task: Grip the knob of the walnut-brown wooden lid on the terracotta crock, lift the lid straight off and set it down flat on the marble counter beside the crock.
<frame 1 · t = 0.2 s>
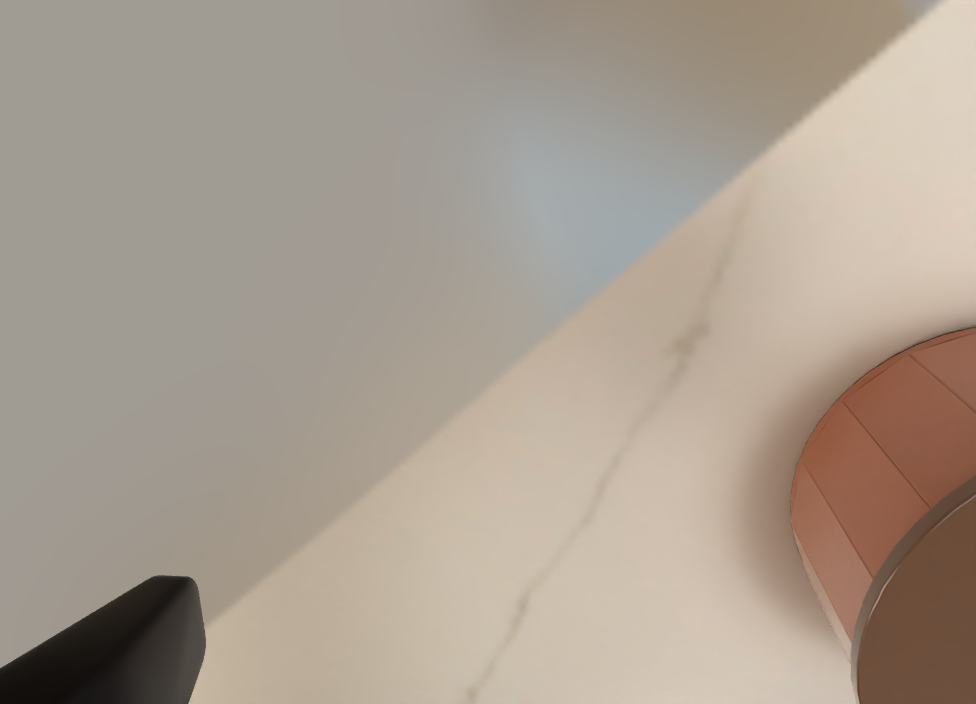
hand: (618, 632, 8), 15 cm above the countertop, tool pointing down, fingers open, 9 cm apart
crock: (974, 492, 24), on the countertop
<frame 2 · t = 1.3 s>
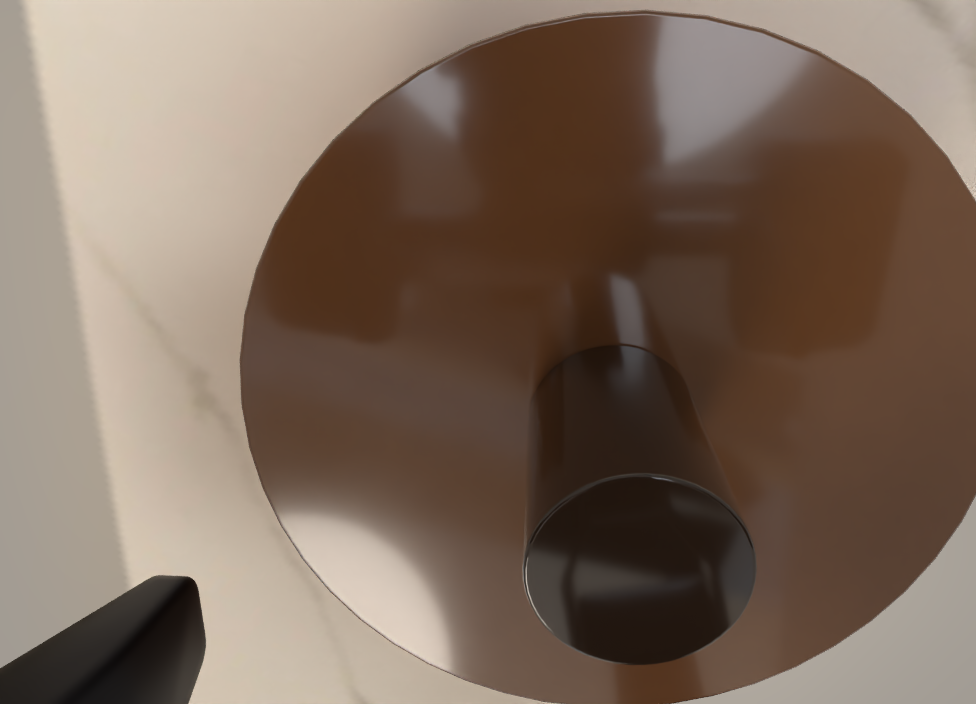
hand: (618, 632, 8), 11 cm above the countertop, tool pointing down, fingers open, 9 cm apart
lid: (608, 407, 13), point 6 cm above the countertop, touching crock
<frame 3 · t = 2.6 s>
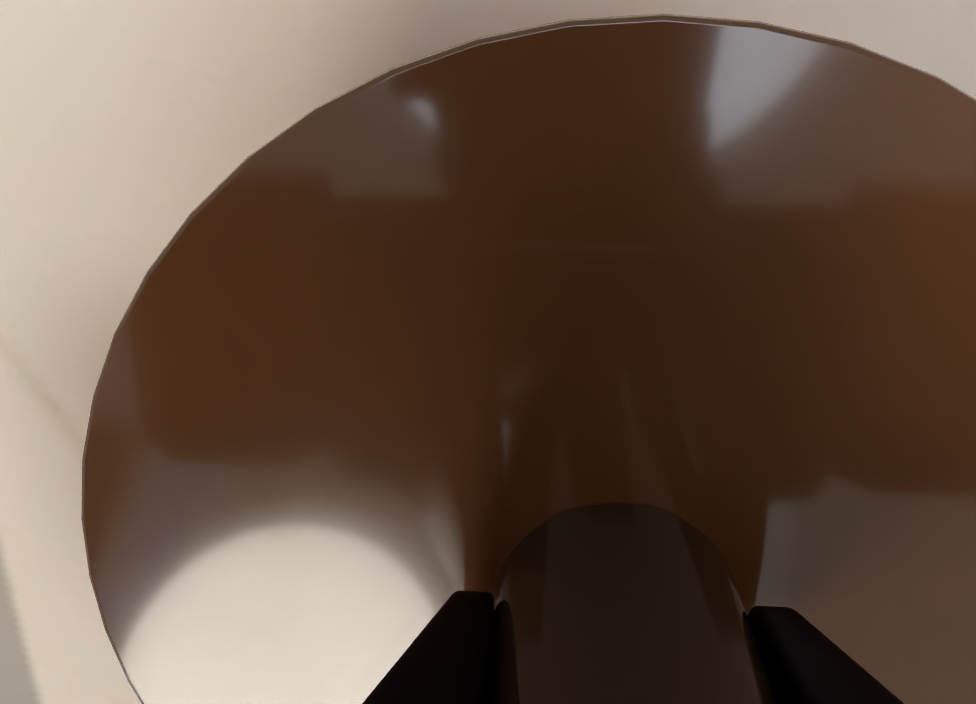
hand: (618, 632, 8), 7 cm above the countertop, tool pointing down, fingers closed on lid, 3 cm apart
lid: (610, 574, 9), point 6 cm above the countertop, touching crock, gripper
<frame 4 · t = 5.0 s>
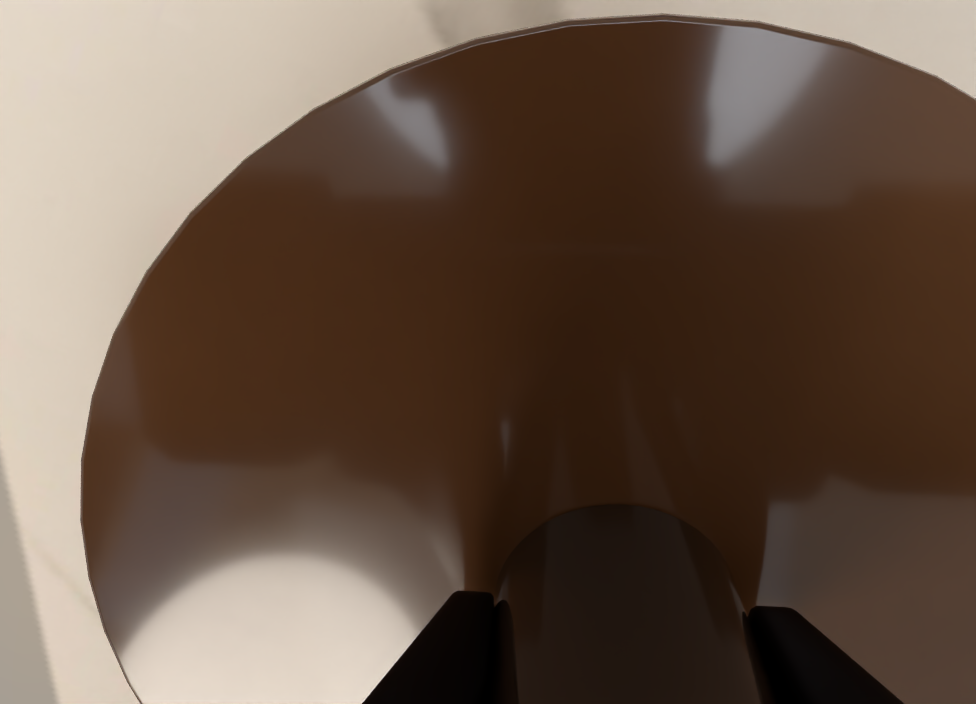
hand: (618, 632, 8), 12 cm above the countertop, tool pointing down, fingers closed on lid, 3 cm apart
lid: (609, 575, 9), point 12 cm above the countertop, touching gripper
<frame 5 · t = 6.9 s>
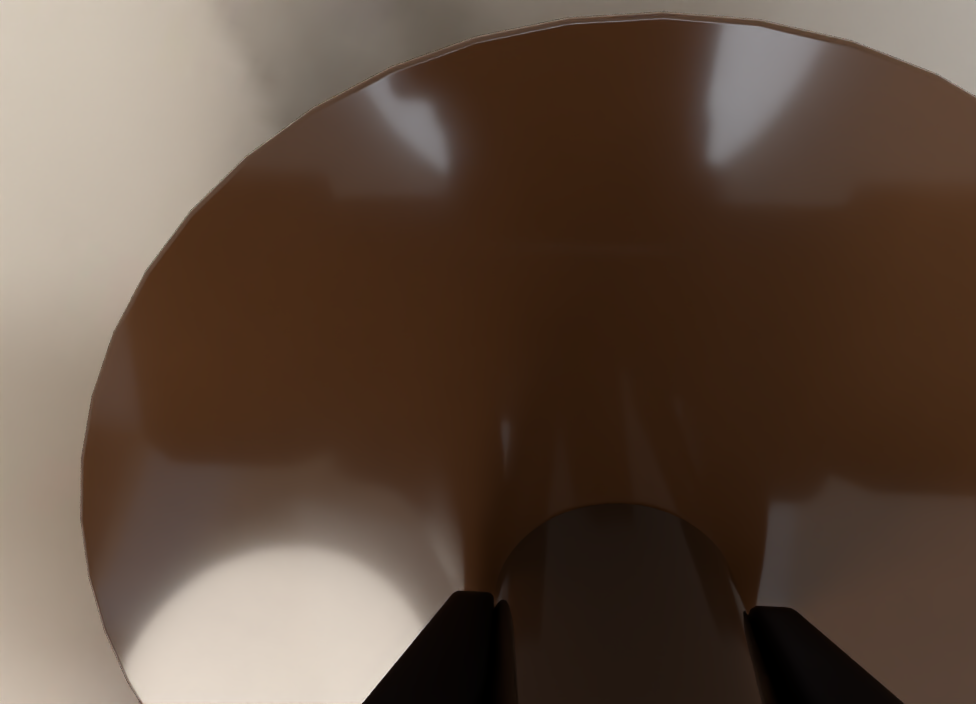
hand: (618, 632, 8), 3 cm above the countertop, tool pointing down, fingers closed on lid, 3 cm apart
lid: (610, 574, 9), point 3 cm above the countertop, touching gripper
when the fingers open (1 cm above the countertop, at t = 7.7 s): lid stays where it is, point 1 cm above the countertop.
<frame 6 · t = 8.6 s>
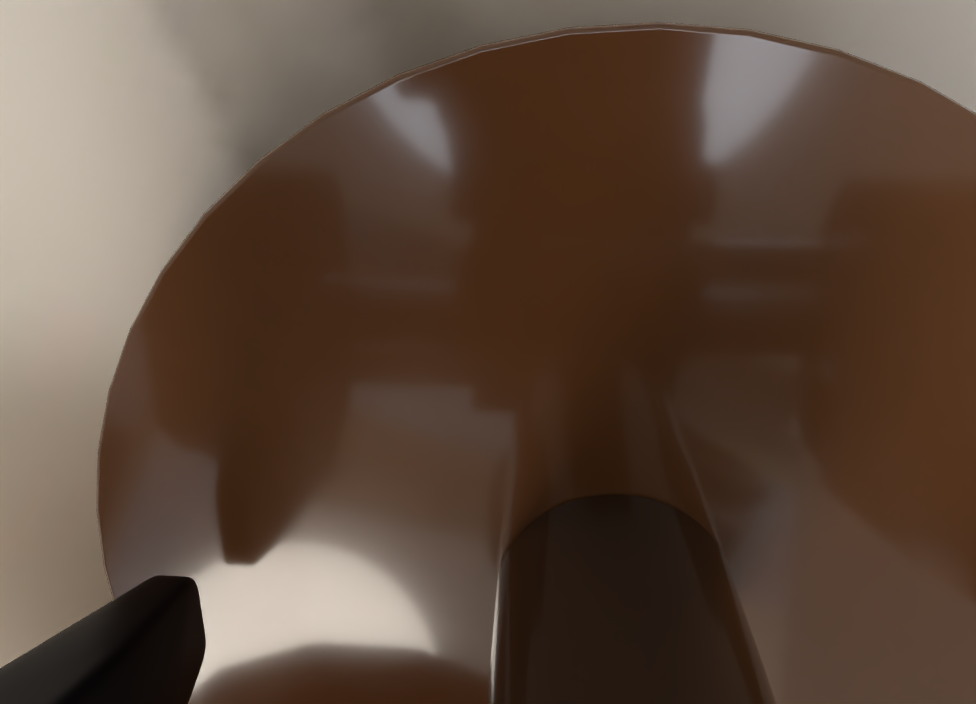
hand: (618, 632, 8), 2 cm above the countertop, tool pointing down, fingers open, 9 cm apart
lid: (608, 564, 9), point 1 cm above the countertop
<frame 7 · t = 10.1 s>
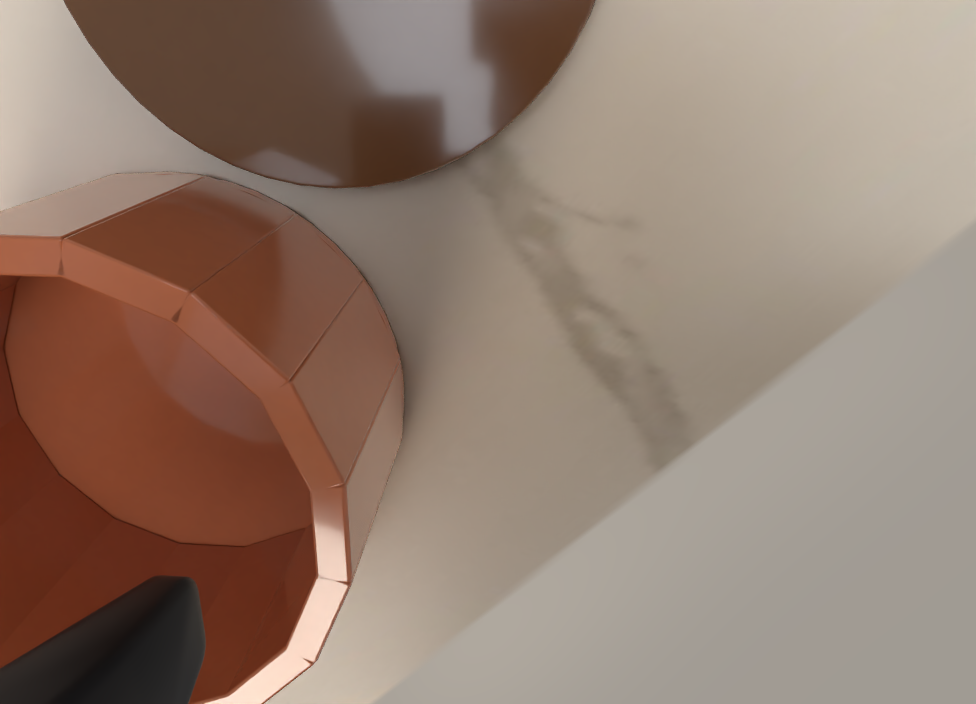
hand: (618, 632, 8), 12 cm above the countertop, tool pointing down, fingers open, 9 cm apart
crock: (197, 382, 21), on the countertop
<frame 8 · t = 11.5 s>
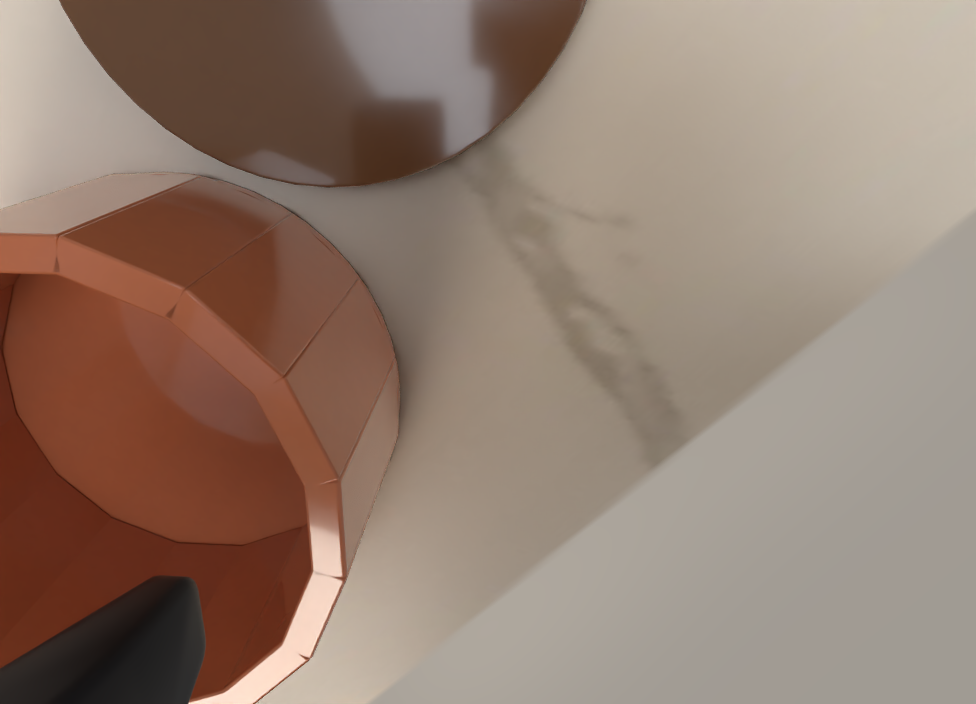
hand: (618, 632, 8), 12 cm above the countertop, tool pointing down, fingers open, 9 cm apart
crock: (194, 381, 21), on the countertop
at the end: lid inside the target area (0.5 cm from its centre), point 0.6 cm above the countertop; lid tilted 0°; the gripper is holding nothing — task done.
